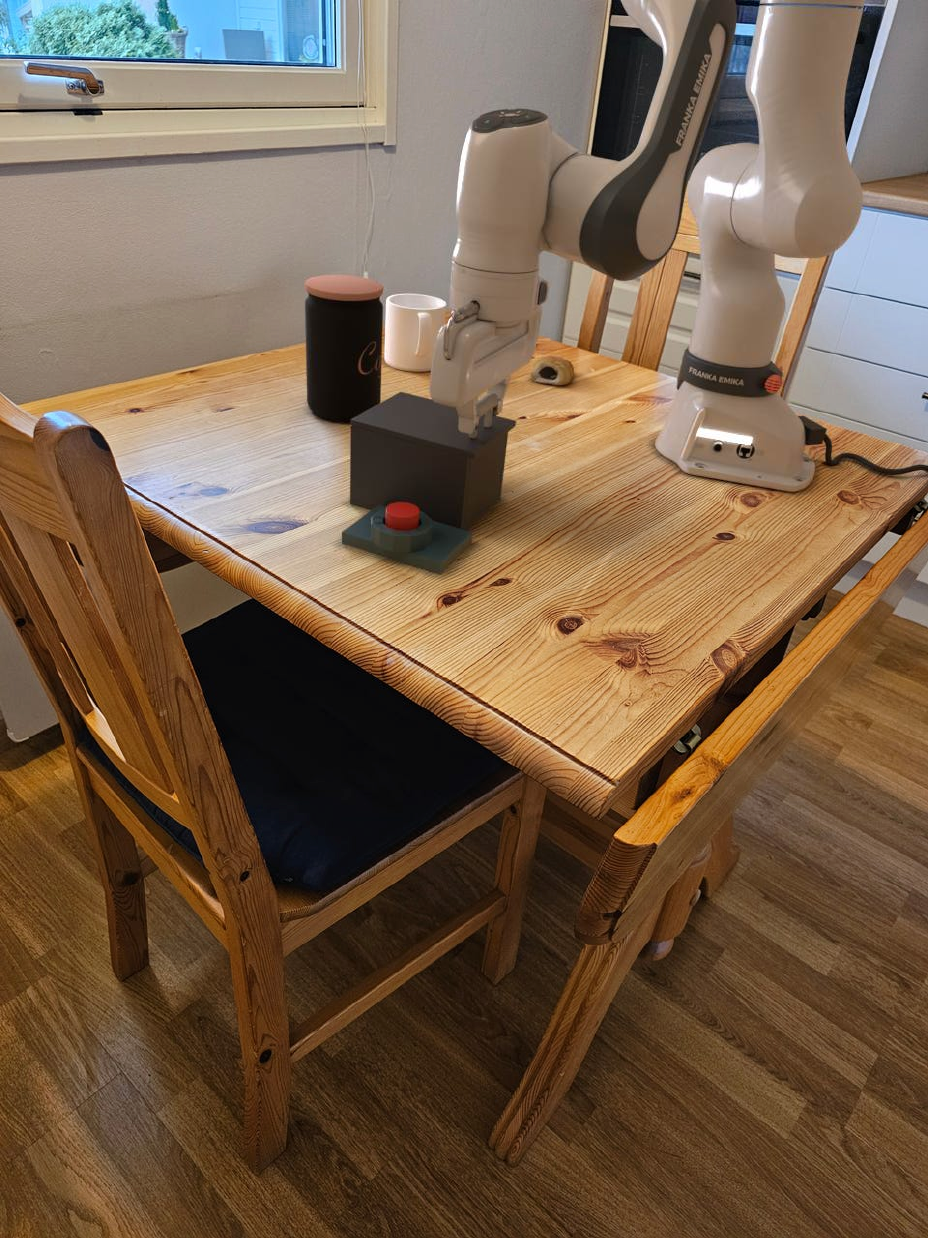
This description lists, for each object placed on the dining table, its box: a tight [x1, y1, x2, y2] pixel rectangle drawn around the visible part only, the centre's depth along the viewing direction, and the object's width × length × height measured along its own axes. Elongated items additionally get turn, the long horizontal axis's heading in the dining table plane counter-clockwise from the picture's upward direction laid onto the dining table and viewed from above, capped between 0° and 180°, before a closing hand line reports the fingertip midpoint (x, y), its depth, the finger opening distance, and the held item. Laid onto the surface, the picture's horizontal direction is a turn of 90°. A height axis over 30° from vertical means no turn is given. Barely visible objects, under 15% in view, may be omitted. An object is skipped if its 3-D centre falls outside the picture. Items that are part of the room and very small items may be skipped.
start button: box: [385, 502, 420, 531], centre depth 91 cm, size 4×4×2 cm
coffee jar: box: [304, 274, 384, 424], centre depth 121 cm, size 11×11×18 cm
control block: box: [341, 505, 473, 575], centre depth 93 cm, size 12×9×4 cm
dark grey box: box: [349, 425, 509, 531], centre depth 100 cm, size 15×12×10 cm
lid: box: [349, 391, 517, 459], centre depth 96 cm, size 15×12×4 cm
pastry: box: [530, 355, 575, 386], centre depth 146 cm, size 9×7×4 cm
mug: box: [384, 293, 447, 373], centre depth 143 cm, size 13×10×10 cm
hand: (480, 422), depth 95 cm, fingers open, 5 cm apart
